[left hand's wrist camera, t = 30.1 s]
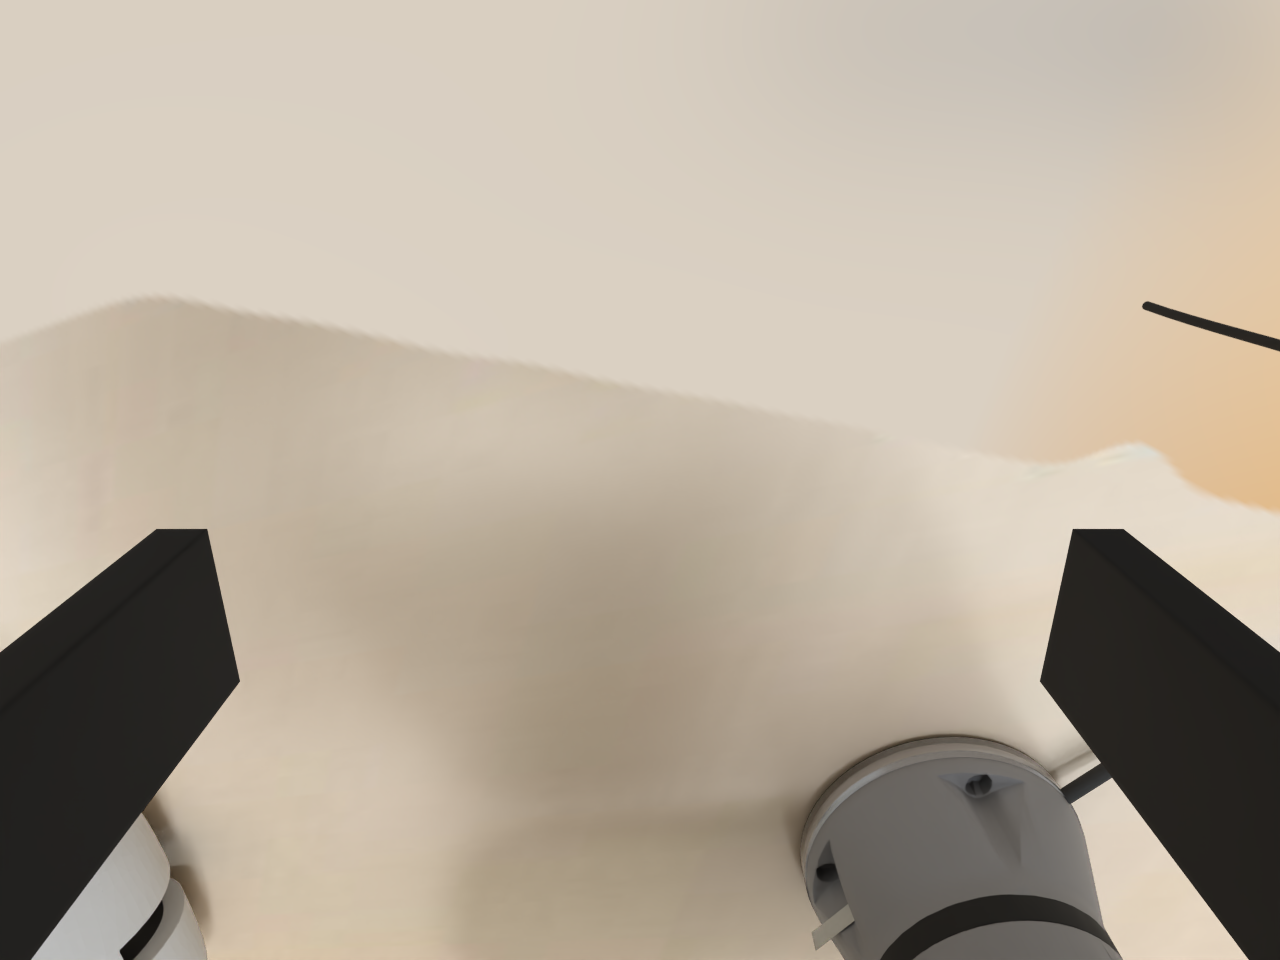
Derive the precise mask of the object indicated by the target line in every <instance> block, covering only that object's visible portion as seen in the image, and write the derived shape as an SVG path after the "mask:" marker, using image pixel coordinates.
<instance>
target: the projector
mask: <svg viewBox="0 0 1280 960" xmlns="http://www.w3.org/2000/svg"><path fill="white" fill-rule="evenodd" d="M31 960H207V952H206V947H205V943H204V939H203V936H202V933H201V930H200V927H199V924H198V922H197V919H196V917H195V915H194V912H193V910H192V908H191V905H190V903H189V901H188V899H187V897H186V895H185V893H184V891H183V888H182V886H181V885H180V883H179V882H178V881H176V880H175V879H173V878H170V865H169V861H168V859H167V856H166V854H165V852H164V850H163V848H162V847H161V845H160V843H159V841H158V839H157V837H156V835H155V833H154V832H153V830H152V828H151V826H150V825H149V823H148V821H147V820H146V818H145V817H144V815H143V814H142V813H141V814H140V815H139V817H138V818H137V819H136V821H135V822H134V823H133V825H132V826H131V827H130V829H129V830H128V831H127V833H126V834H125V835H124V837H123V838H122V839H121V841H120V842H119V843H118V845H117V846H116V847H115V849H114V850H113V851H112V853H111V854H110V855H109V857H108V858H107V859H106V861H105V862H104V863H103V865H102V866H101V867H100V869H99V870H98V871H97V873H96V874H95V875H94V877H93V878H92V879H91V881H90V882H89V883H88V885H87V886H86V887H85V889H84V890H83V891H82V893H81V894H80V895H79V897H78V898H77V899H76V901H75V902H74V903H73V905H72V906H71V907H70V909H69V910H68V911H67V913H66V914H65V915H64V917H63V918H62V919H61V921H60V922H59V923H58V925H57V926H56V927H55V929H54V930H53V931H52V933H51V934H50V935H49V937H48V938H47V939H46V941H45V942H44V943H43V945H42V946H41V947H40V949H39V950H38V951H37V953H36V954H35V955H34V957H33V958H32V959H31Z"/></svg>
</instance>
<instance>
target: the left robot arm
mask: <svg viewBox="0 0 1280 960" xmlns="http://www.w3.org/2000/svg"><path fill="white" fill-rule="evenodd" d="M1142 308H1143V309H1144V310H1146V311H1149V312H1152V313H1155V314H1158V315H1161V316H1164V317H1167V318H1170V319H1173V320H1176V321H1179V322H1182V323H1185V324H1188V325H1192V326H1195V327H1198V328H1201V329H1205V330H1208V331H1211V332H1215V333H1218V334H1222V335H1225V336H1228V337H1232V338H1235V339H1239V340H1242V341H1245V342H1249V343H1252V344H1256V345H1259V346H1262V347H1266V348H1270V349H1273V350H1276V351H1279V352H1280V339H1276V338H1273V337H1269V336H1266V335H1262V334H1258V333H1255V332H1251V331H1247V330H1244V329H1240V328H1236V327H1233V326H1229V325H1225V324H1222V323H1218V322H1215V321H1211V320H1208V319H1204V318H1200V317H1197V316H1193V315H1190V314H1187V313H1183V312H1180V311H1177V310H1174V309H1170V308H1167V307H1164V306H1161V305H1158V304H1155V303H1152V302H1149V301H1146V302H1144V303H1143V305H1142ZM239 682H240V679H239V674H238V670H237V665H236V661H235V656H234V651H233V647H232V642H231V637H230V633H229V628H228V624H227V619H226V614H225V610H224V605H223V600H222V596H221V591H220V586H219V582H218V577H217V573H216V568H215V563H214V559H213V554H212V549H211V545H210V540H209V535H208V531H207V529H156V530H155V531H154V532H152V533H151V534H150V535H149V536H147V537H146V538H145V539H143V540H142V541H141V542H140V543H138V544H137V545H136V546H135V547H133V548H132V549H131V550H129V551H128V552H127V553H126V554H124V555H123V556H122V557H121V558H119V559H118V560H117V561H116V562H114V563H113V564H112V565H110V566H109V567H108V568H107V569H105V570H104V571H103V572H102V573H100V574H99V575H98V576H97V577H95V578H94V579H93V580H91V581H90V582H89V583H88V584H86V585H85V586H84V587H83V588H81V589H80V590H79V591H77V592H76V593H75V594H74V595H72V596H71V597H70V598H69V599H67V600H66V601H65V602H64V603H62V604H61V605H60V606H58V607H57V608H56V609H55V610H53V611H52V612H51V613H50V614H48V615H47V616H46V617H45V618H43V619H42V620H41V621H39V622H38V623H37V624H36V625H34V626H33V627H32V628H31V629H29V630H28V631H27V632H25V633H24V634H23V635H22V636H20V637H19V638H18V639H17V640H15V641H14V642H13V643H12V644H10V645H9V646H8V647H6V648H5V649H4V650H3V651H1V652H0V960H31V959H32V958H33V957H34V955H35V954H36V953H37V951H38V950H39V949H40V947H41V946H42V945H43V943H44V942H45V941H46V939H47V938H48V937H49V935H50V934H51V933H52V931H53V930H54V929H55V927H56V926H57V925H58V923H59V922H60V921H61V919H62V918H63V917H64V915H65V914H66V913H67V911H68V910H69V909H70V907H71V906H72V905H73V903H74V902H75V901H76V899H77V898H78V897H79V895H80V894H81V893H82V891H83V890H84V889H85V887H86V886H87V885H88V883H89V882H90V881H91V879H92V878H93V877H94V875H95V874H96V873H97V871H98V870H99V869H100V867H101V866H102V865H103V863H104V862H105V861H106V859H107V858H108V857H109V855H110V854H111V853H112V851H113V850H114V849H115V847H116V846H117V845H118V843H119V842H120V841H121V839H122V838H123V837H124V835H125V834H126V833H127V831H128V830H129V829H130V827H131V826H132V825H133V823H134V822H135V821H136V819H137V818H138V817H139V815H140V814H141V813H142V811H143V810H144V809H145V807H146V806H147V805H148V803H149V802H150V801H151V799H152V798H153V797H154V795H155V794H156V793H157V791H158V790H159V789H160V787H161V786H162V785H163V783H164V782H165V781H166V779H167V778H168V777H169V775H170V774H171V773H172V771H173V770H174V769H175V767H176V766H177V765H178V763H179V762H180V761H181V759H182V758H183V757H184V755H185V754H186V753H187V751H188V750H189V749H190V747H191V746H192V745H193V743H194V742H195V741H196V739H197V738H198V737H199V735H200V734H201V733H202V731H203V730H204V729H205V727H206V726H207V725H208V723H209V722H210V721H211V719H212V718H213V717H214V715H215V714H216V713H217V711H218V710H219V709H220V707H221V706H222V705H223V703H224V702H225V701H226V699H227V698H228V697H229V695H230V694H231V693H232V691H233V690H234V689H235V687H236V686H237V685H238V683H239ZM1040 682H1041V683H1042V685H1043V686H1044V687H1045V689H1046V690H1047V691H1048V693H1049V694H1050V695H1051V697H1052V698H1053V699H1054V701H1055V702H1056V703H1057V705H1058V706H1059V707H1060V709H1061V710H1062V711H1063V713H1064V714H1065V715H1066V717H1067V718H1068V719H1069V721H1070V722H1071V723H1072V725H1073V726H1074V727H1075V729H1076V730H1077V731H1078V733H1079V734H1080V735H1081V737H1082V738H1083V739H1084V741H1085V742H1086V743H1087V745H1088V746H1089V747H1090V749H1091V750H1092V751H1093V753H1094V754H1095V755H1096V757H1097V758H1098V759H1099V761H1100V762H1101V764H1099V765H1097V766H1096V767H1094V768H1093V769H1091V770H1090V771H1088V772H1086V773H1085V774H1083V775H1082V776H1080V777H1079V778H1077V779H1076V780H1074V781H1072V782H1071V783H1069V784H1068V785H1066V786H1065V787H1063V788H1060V787H1059V785H1058V784H1057V782H1056V781H1055V780H1054V778H1053V777H1052V776H1051V775H1050V774H1049V773H1048V772H1047V770H1046V769H1044V768H1043V767H1042V766H1041V765H1040V764H1039V763H1037V762H1036V761H1035V760H1033V759H1032V758H1030V757H1029V756H1027V755H1025V754H1023V753H1021V752H1019V751H1018V750H1015V749H1013V748H1010V747H1008V746H1006V745H1002V744H999V743H996V742H992V741H987V740H982V739H976V738H968V737H938V738H930V739H923V740H918V741H913V742H909V743H905V744H902V745H898V746H895V747H892V748H890V749H887V750H884V751H882V752H880V753H877V754H875V755H873V756H871V757H869V758H867V759H866V760H864V761H862V762H860V763H858V764H857V765H855V766H854V767H853V768H851V769H850V770H848V771H847V772H846V773H844V774H843V775H842V776H841V777H839V778H838V779H837V780H836V781H835V782H834V783H833V784H832V785H831V786H830V787H829V788H828V789H827V790H826V791H825V793H824V794H823V795H822V796H821V797H820V799H819V800H818V802H817V803H816V805H815V806H814V808H813V810H812V811H811V813H810V815H809V817H808V820H807V822H806V824H805V827H804V831H803V834H802V840H801V846H800V858H801V866H802V871H803V875H804V880H805V884H806V889H807V893H808V897H809V899H810V902H811V904H812V907H813V909H814V910H815V912H816V915H817V917H818V919H819V920H820V922H821V924H822V925H821V926H819V927H818V928H817V929H816V930H814V931H813V932H812V936H813V940H814V945H815V950H817V949H819V948H820V947H821V946H822V945H824V944H825V943H826V942H828V941H829V940H830V939H832V941H833V942H834V944H835V945H836V947H837V948H838V950H839V952H840V953H841V955H842V956H843V958H844V959H845V960H1123V959H1122V957H1121V956H1120V954H1119V952H1118V951H1117V949H1116V947H1115V946H1114V944H1113V942H1112V940H1111V939H1110V937H1109V935H1108V933H1107V932H1106V930H1105V928H1104V926H1103V921H1102V916H1101V911H1100V907H1099V902H1098V897H1097V892H1096V888H1095V883H1094V878H1093V874H1092V869H1091V864H1090V859H1089V855H1088V850H1087V845H1086V841H1085V836H1084V833H1083V830H1082V827H1081V824H1080V821H1079V819H1078V816H1077V814H1076V812H1075V810H1074V808H1073V806H1072V805H1071V803H1073V802H1074V801H1076V800H1077V799H1079V798H1081V797H1082V796H1084V795H1085V794H1087V793H1088V792H1090V791H1092V790H1093V789H1095V788H1096V787H1098V786H1100V785H1101V784H1103V783H1104V782H1106V781H1107V780H1109V779H1111V778H1113V779H1114V781H1115V782H1116V783H1117V785H1118V786H1119V787H1120V789H1121V790H1122V791H1123V793H1124V794H1125V795H1126V797H1127V798H1128V799H1129V801H1130V802H1131V803H1132V805H1133V806H1134V807H1135V809H1136V810H1137V811H1138V813H1139V814H1140V815H1141V817H1142V818H1143V819H1144V821H1145V822H1146V823H1147V825H1148V826H1149V827H1150V829H1151V830H1152V831H1153V833H1154V834H1155V835H1156V837H1157V838H1158V839H1159V841H1160V842H1161V843H1162V845H1163V846H1164V847H1165V849H1166V850H1167V851H1168V853H1169V854H1170V855H1171V857H1172V858H1173V859H1174V861H1175V862H1176V863H1177V865H1178V866H1179V867H1180V869H1181V870H1182V871H1183V873H1184V874H1185V875H1186V877H1187V878H1188V879H1189V881H1190V882H1191V883H1192V885H1193V886H1194V887H1195V889H1196V890H1197V891H1198V893H1199V894H1200V895H1201V897H1202V898H1203V899H1204V901H1205V902H1206V903H1207V905H1208V906H1209V907H1210V909H1211V910H1212V911H1213V913H1214V914H1215V915H1216V917H1217V918H1218V919H1219V921H1220V922H1221V923H1222V925H1223V926H1224V927H1225V929H1226V930H1227V931H1228V933H1229V934H1230V935H1231V937H1232V938H1233V939H1234V941H1235V942H1236V943H1237V945H1238V946H1239V947H1240V949H1241V950H1242V951H1243V953H1244V954H1245V955H1246V957H1247V958H1248V959H1249V960H1280V652H1279V651H1277V650H1276V649H1275V648H1274V647H1272V646H1271V645H1270V644H1268V643H1267V642H1266V641H1265V640H1263V639H1262V638H1261V637H1260V636H1258V635H1257V634H1256V633H1255V632H1253V631H1252V630H1251V629H1249V628H1248V627H1247V626H1246V625H1244V624H1243V623H1242V622H1241V621H1239V620H1238V619H1237V618H1235V617H1234V616H1233V615H1232V614H1230V613H1229V612H1228V611H1227V610H1225V609H1224V608H1223V607H1222V606H1220V605H1219V604H1218V603H1216V602H1215V601H1214V600H1213V599H1211V598H1210V597H1209V596H1208V595H1206V594H1205V593H1204V592H1203V591H1201V590H1200V589H1199V588H1197V587H1196V586H1195V585H1194V584H1192V583H1191V582H1190V581H1189V580H1187V579H1186V578H1185V577H1183V576H1182V575H1181V574H1180V573H1178V572H1177V571H1176V570H1175V569H1173V568H1172V567H1171V566H1170V565H1168V564H1167V563H1166V562H1164V561H1163V560H1162V559H1161V558H1159V557H1158V556H1157V555H1156V554H1154V553H1153V552H1152V551H1151V550H1149V549H1148V548H1147V547H1145V546H1144V545H1143V544H1142V543H1140V542H1139V541H1138V540H1137V539H1135V538H1134V537H1133V536H1131V535H1130V534H1129V533H1128V532H1126V531H1125V530H1124V529H1073V531H1072V535H1071V540H1070V545H1069V549H1068V554H1067V559H1066V563H1065V568H1064V573H1063V577H1062V582H1061V586H1060V591H1059V596H1058V600H1057V605H1056V610H1055V614H1054V619H1053V624H1052V628H1051V633H1050V637H1049V642H1048V647H1047V651H1046V656H1045V661H1044V665H1043V670H1042V674H1041V679H1040Z"/></svg>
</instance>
